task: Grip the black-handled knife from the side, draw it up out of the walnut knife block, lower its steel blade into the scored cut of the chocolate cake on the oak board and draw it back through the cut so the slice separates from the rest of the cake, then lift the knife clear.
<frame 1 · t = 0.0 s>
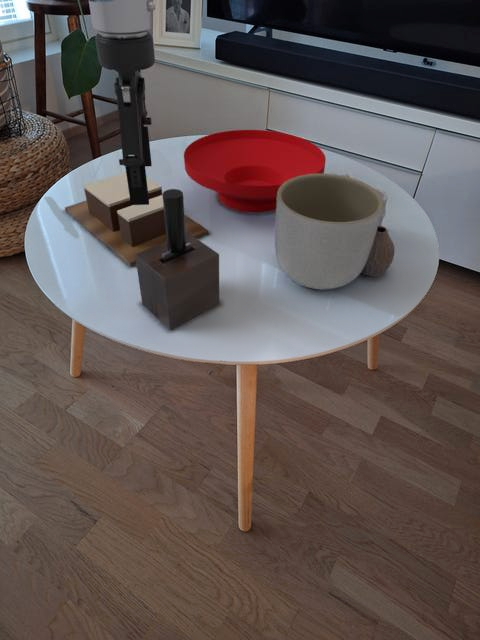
hand: (142, 183, 75), 16 cm above the table, tool pointing down, fingers open, 13 cm apart
bowl: (252, 197, 106), on the table
vase: (369, 271, 86), on the table, touching planter
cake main: (134, 218, 95), point 1 cm above the table, touching cake board
cake slice: (153, 232, 91), point 1 cm above the table, touching cake board
knife block: (181, 304, 77), on the table
knife: (180, 299, 76), point 1 cm above the table, touching knife block
planter: (317, 273, 85), on the table, touching vase
mug: (351, 236, 95), on the table
cake board: (134, 222, 96), on the table
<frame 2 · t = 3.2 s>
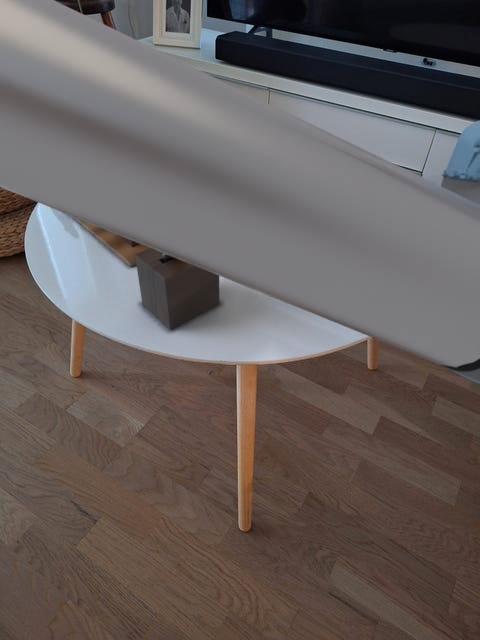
hand: (212, 189, 56), 24 cm above the table, tool horizontal, fingers open, 13 cm apart
planter: (316, 273, 85), on the table, touching vase
everything else where it was.
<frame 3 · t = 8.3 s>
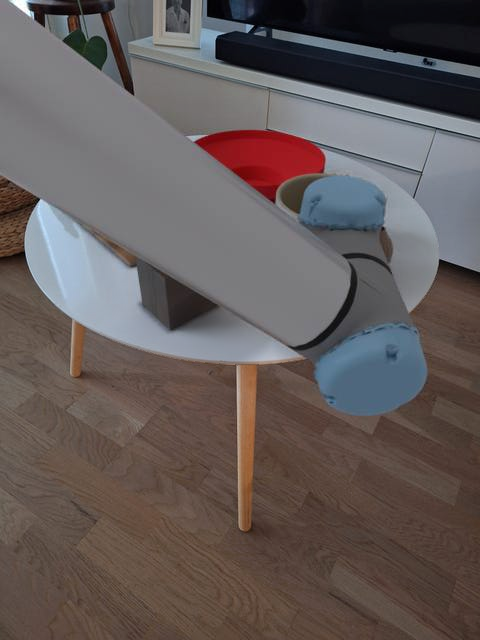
hand: (153, 204, 69), 16 cm above the table, tool horizontal, fingers closed on knife, 3 cm apart
knife: (180, 299, 76), point 1 cm above the table, touching gripper, knife block
everything else where it was.
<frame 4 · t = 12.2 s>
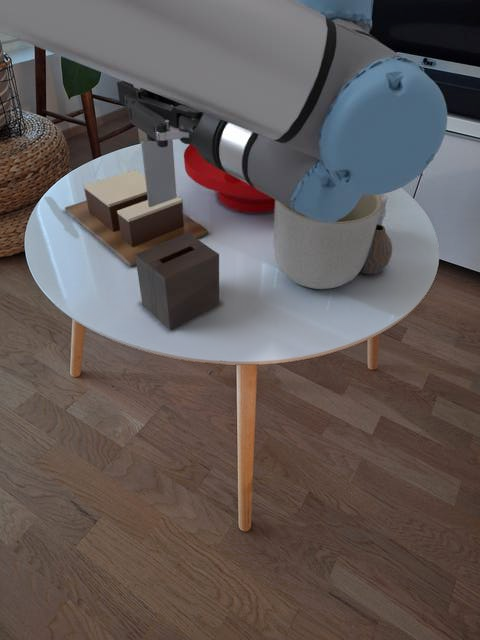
hand: (131, 90, 65), 30 cm above the table, tool horizontal, fingers closed on knife, 3 cm apart
knife: (162, 202, 72), point 15 cm above the table, touching gripper
everything else where it was.
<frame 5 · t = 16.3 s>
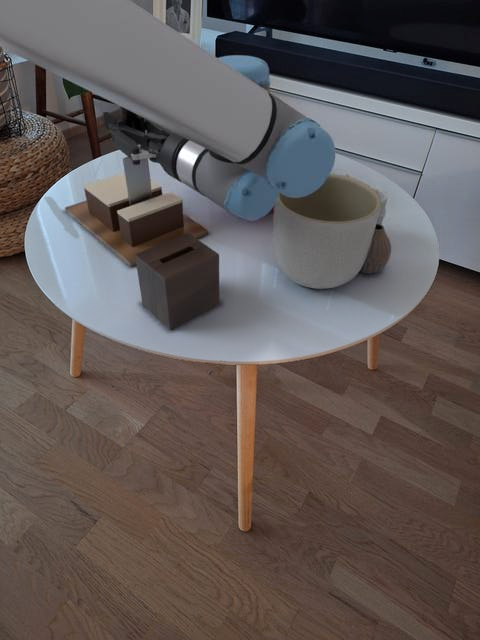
hand: (115, 118, 83), 20 cm above the table, tool horizontal, fingers closed on knife, 3 cm apart
knife: (141, 205, 90), point 5 cm above the table, touching gripper
everything else where it was.
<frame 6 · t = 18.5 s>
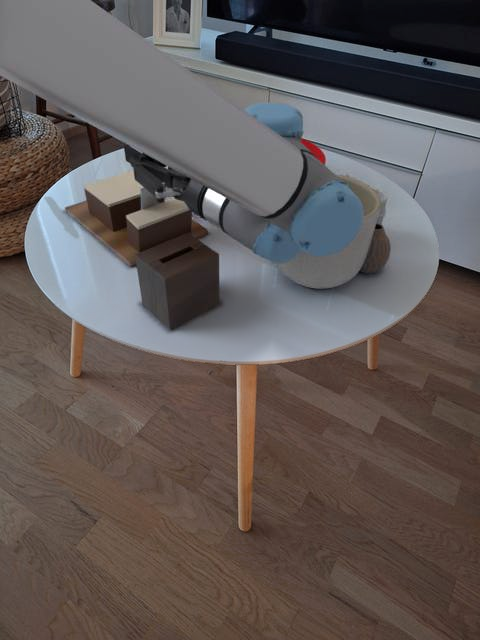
hand: (135, 150, 82), 17 cm above the table, tool horizontal, fingers closed on knife, 3 cm apart
cake slice: (160, 236, 90), point 1 cm above the table, tilted 8°, touching cake board, knife
knife: (153, 229, 91), point 2 cm above the table, tilted 8°, touching cake slice, gripper
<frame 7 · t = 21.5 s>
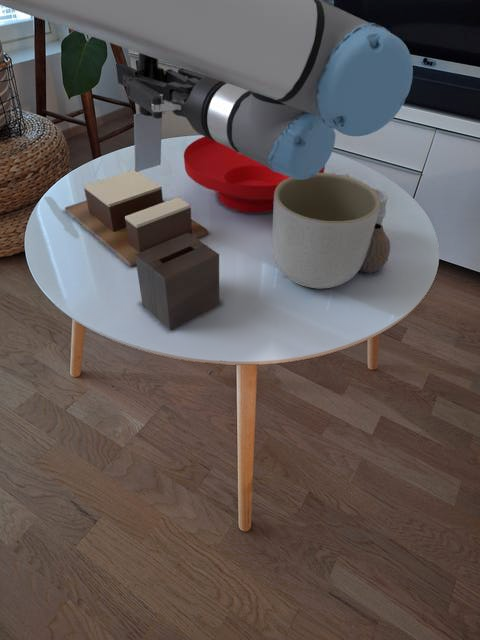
hand: (129, 71, 72), 30 cm above the table, tool horizontal, fingers closed on knife, 3 cm apart
cake slice: (161, 238, 90), point 1 cm above the table, touching cake board
knife: (147, 167, 80), point 15 cm above the table, tilted 11°, touching gripper
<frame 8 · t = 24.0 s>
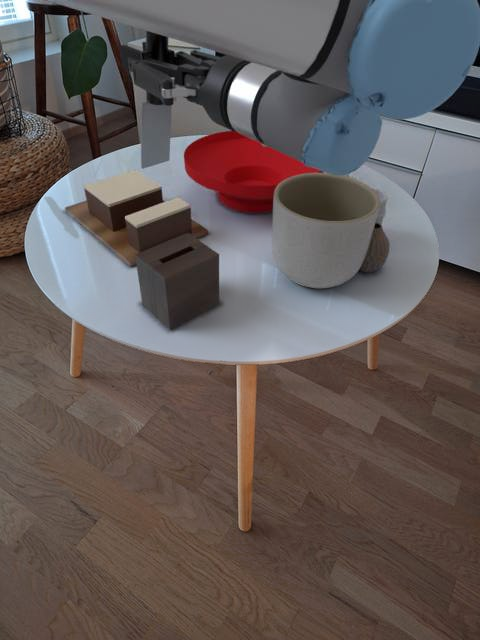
hand: (134, 54, 64), 34 cm above the table, tool horizontal, fingers closed on knife, 3 cm apart
knife: (155, 164, 72), point 19 cm above the table, tilted 11°, touching gripper
at the end: cake slice moved 2.7 cm from its start; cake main moved 0.0 cm from its start; knife point 19.3 cm above the table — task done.
